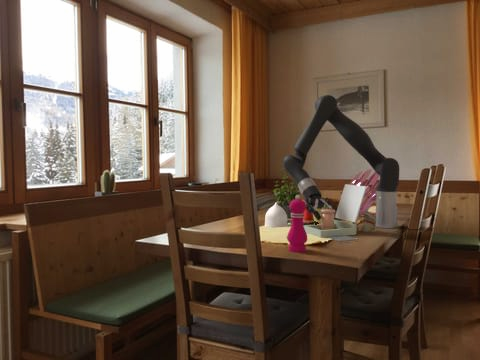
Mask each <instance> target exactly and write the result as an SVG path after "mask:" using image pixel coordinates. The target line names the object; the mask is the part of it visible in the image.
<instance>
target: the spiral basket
mask: <svg viewBox="0 0 480 360" xmlns="http://www.w3.org/2000/svg"><path fill="white" fill-rule="evenodd" d="M372 169H373V168H368V169H366V170H365V171H364V173H363V171H362V170H360V171H358V172H357V173H356V174H355V175H354V177H353V178H352V180H351V181H350V183H347V185H357V186H366V187H367V188H366V191H365V194H364V198H363V201H362V204H361V207H360V210H359V214H358V217H362V216H363V214H364V213H365V212H366V211H369V209H370V208H371V207H372V206H373V204H374V203H376V188H377V185H378V184H379V182H380V175H378V174H377V173H376V172H375V171H374V172H373V173H372V171H373V170H372ZM371 173H372V174H371ZM370 174H371V175H370ZM369 176H370V177H369ZM359 177H360V178H359ZM378 179H379V180H378ZM366 180H367V181H366ZM377 181H378V182H377ZM364 183H365V184H364ZM369 212H370V214H371V215H372V216H374V217H375V218H376V212H371V211H369ZM363 217H364V216H363Z"/></svg>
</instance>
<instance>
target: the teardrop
mask: <svg viewBox="0 0 480 360" xmlns="http://www.w3.org/2000/svg"><path fill="white" fill-rule="evenodd" d="M264 226H265V227H266V228H287V227H289V226H288V214H287V213H286V211H285V210H284V208H283V207H281V206H280V204H278V202H277V201H276V202H275V203H274V205H272V206H271V207H270V208H268V210H267V211H266V213H265V218H264Z"/></svg>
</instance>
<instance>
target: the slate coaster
mask: <svg viewBox="0 0 480 360" xmlns="http://www.w3.org/2000/svg"><path fill="white" fill-rule="evenodd" d="M326 238H327V239H330V240H334V241H337V242H340V243H342V242H346V244H348V243H351V242H352V241H359V239H358V238H356V237H352V236H350V235H341V236H329V237H326Z"/></svg>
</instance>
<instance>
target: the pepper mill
mask: <svg viewBox="0 0 480 360" xmlns="http://www.w3.org/2000/svg"><path fill="white" fill-rule="evenodd" d="M304 201H305V200H302V199H301V195H299V194H296V195H295V199H293V200H291V201H290V203H289V210H290V211H291V212H290V218H291V226H290V228H289V230H288V233H287V236H286V237H287V241H288V243H289V244H288V251H289V252H292V253H293V252H295V253H302V252H306V250H307V246H306V242H308V235H307V234H308V233H306V231H305V229H304V226H303V225H304V218H305V217H306V216H305V213H304V212H306V211H307V210H306V204H305V202H304Z"/></svg>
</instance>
